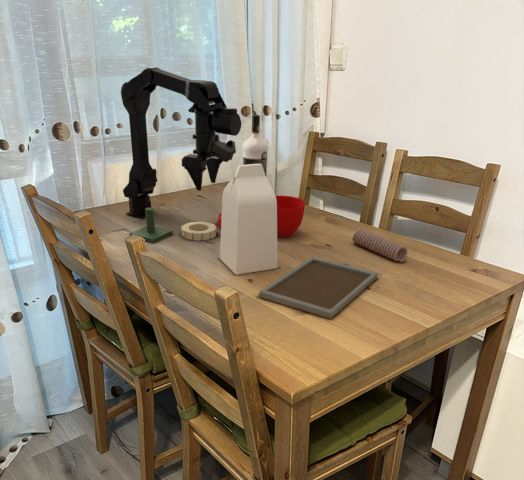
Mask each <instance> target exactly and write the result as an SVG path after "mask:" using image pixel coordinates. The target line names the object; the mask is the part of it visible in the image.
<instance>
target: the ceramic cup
mask: <svg viewBox="0 0 524 480" xmlns="http://www.w3.org/2000/svg"><path fill="white" fill-rule="evenodd" d="M275 196H276V200H277V238H289V237H292V236H293V235H294V234H295V233H296V232H297V231H298V230H299V228H300V226H301V224H302V222H303V219H304V215H305V209H306V202H305V200H304V199H301V198H299V197H295V196H291V195H290V196H289V195H275Z"/></svg>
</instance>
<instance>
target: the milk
mask: <svg viewBox="0 0 524 480" xmlns="http://www.w3.org/2000/svg"><path fill="white" fill-rule="evenodd" d="M276 196H277V195H276V193H275V192H274V190H273V187H272V185H271V184H270V182H269V180H268V177H267V175H266V176H265V172H264V169H263V166H262V164H248V165H243V164H238V165H237V168H236V170H235V172H234V174H233V177H232V178H231V179H230V180H229V182H228V183H227V185H226V186H225V187H224V188H223V191H222V199H221V213H222V219H221V228H220V246H219V247H220V248H219V260H220V261H221V262H222V263H224V264H225V265H226V267H228V268H229V269H230V271H232V272H233V273H234V275H244V274H249V273H250V274H251V273H255V272H262V271H268V270H275V269H278V267H279V266H278V263H279V262H278V237H277V200H276Z"/></svg>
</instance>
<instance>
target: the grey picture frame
mask: <svg viewBox="0 0 524 480" xmlns="http://www.w3.org/2000/svg"><path fill="white" fill-rule="evenodd" d="M376 279H378V273H377V272H375V271H371V270H366V269H363V268H359V267H354V266H353V265H352V264H350V263H349V262H348V263H347V262H341V263H340V262H335V261H332V260H328V259H324V258H321V257H320V258H319V257H316V256H311V257H310V258H308V259H306V260H305V261H303V262H302V263H300V264H299V265H297V266H296V267H294V268H292V269H291V270H290V271H288V272H287V273H285V274H283V275H282V276H281V277H278V279H276V280H274V281H273V282H271V283H270V284H269V285H267V286H265V287H264V288H262V289H261V290H260V291H259V292H258V296H259V298H261V299H264V300H268V301H271V302H274V303H277V304H280V305H283V306H286V307H291V308H294V309H297V310H300V311H304V312H307V313H310V314H314V315H317V316H320V317H324V318H326V319H330V320H331V319H332V318H334V317H335V316H336V315H337V314H338V313H340V311H342V310H343V309H344V307H347V305H348V304H349V303H351V302H352V301H353V300H354V299H355V298H356V297H357V296H359V295H360V294H361V293H362V292H363V291H364V290H365V289H366V288H368V287H369V286H370V285H371V284H372V283H373V282H375V280H376Z"/></svg>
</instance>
